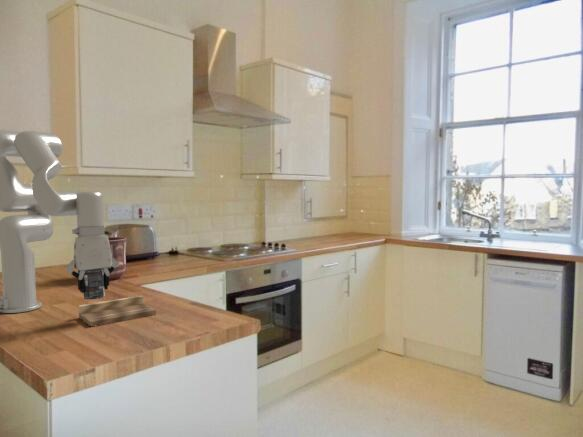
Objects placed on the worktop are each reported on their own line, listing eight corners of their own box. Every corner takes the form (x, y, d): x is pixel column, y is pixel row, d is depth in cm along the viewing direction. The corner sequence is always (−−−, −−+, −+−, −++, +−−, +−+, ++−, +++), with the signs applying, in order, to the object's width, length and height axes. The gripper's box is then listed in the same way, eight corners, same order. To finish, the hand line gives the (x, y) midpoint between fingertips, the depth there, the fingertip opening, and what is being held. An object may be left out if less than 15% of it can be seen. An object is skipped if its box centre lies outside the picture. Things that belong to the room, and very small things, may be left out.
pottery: (118, 282, 194) (117, 241, 193) (77, 282, 194) (76, 241, 193) (132, 275, 211) (132, 236, 210) (95, 275, 211) (94, 236, 210)
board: (90, 327, 132) (90, 313, 132) (79, 318, 141) (78, 305, 141) (156, 314, 145) (155, 302, 144) (141, 307, 154) (141, 295, 154)
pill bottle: (107, 295, 142) (106, 259, 141) (100, 300, 136) (98, 262, 135) (88, 296, 141) (86, 260, 141) (80, 300, 135) (78, 263, 135)
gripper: (63, 235, 129) (66, 297, 130) (123, 230, 140) (126, 287, 141) (57, 233, 135) (60, 292, 136) (115, 229, 146) (118, 284, 147)
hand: (93, 289), depth 138 cm, fingers closed on pill bottle, 5 cm apart
